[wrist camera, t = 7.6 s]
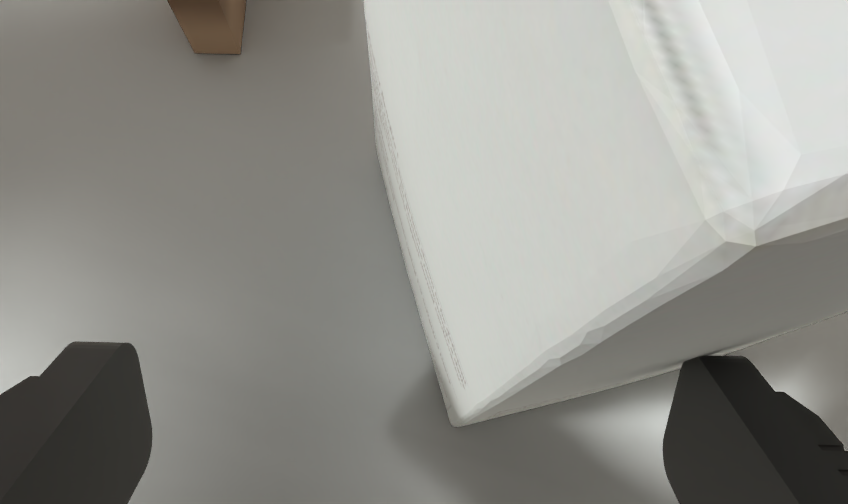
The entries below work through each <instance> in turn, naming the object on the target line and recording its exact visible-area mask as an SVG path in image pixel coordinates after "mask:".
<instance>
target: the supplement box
mask: <svg viewBox="0 0 848 504" xmlns="http://www.w3.org/2000/svg"><path fill="white" fill-rule="evenodd" d="M363 1H364V11H365V21H366V31H367V41H368V52H369V62H370V73H371V83H372V98H373V114H374V127H375V139H376V150H377V155H378V159H379V164H380V168H381V172H382V176H383V180H384V184H385V189H386V193H387V197H388V200H389V204H390V208H391V212H392V216H393V219H394V223H395V227H396V231H397V235H398V239H399V243H400V247H401V251H402V254H403V258H404V262H405V266H406V270H407V273H408V277H409V280H410V284H411V287H412V291H413V294H414V298H415V301H416V305H417V308H418V312H419V315H420V319H421V322H422V326H423V329H424V333H425V336H426V340H427V343H428V347H429V351H430V354H431V358H432V361H433V365H434V368H435V372H436V375H437V379H438V382H439V386H440V389H441V392H442V396H443V399H444V403H445V406H446V410H447V413H448V417H449V421H450V424H451V425H452V426H453V427H461V426H465V425H469V424H474V423H478V422H482V421H486V420H490V419H493V418H497V417H501V416H505V415H509V414H513V413H517V412H521V411H525V410H529V409H533V408H537V407H541V406H545V405H549V404H553V403H557V402H561V401H565V400H569V399H573V398H577V397H581V396H584V395H588V394H592V393H596V392H600V391H603V390H607V389H611V388H615V387H618V386H622V385H625V384H629V383H632V382H636V381H639V380H643V379H646V378H650V377H653V376H657V375H660V374H664V373H667V372H671V371H674V370H677V369H680V368H681V367H682V364H683V362H684V361H687V360H690V359H692V358H695V357H698V356H703V355H715V356H721V355H725V354H728V353H731V352H734V351H737V350H740V349H743V348H746V347H749V346H752V345H754V344H757V343H759V342H762V341H765V340H768V339H771V338H774V337H776V336H779V335H782V334H785V333H788V332H790V331H793V330H796V329H799V328H802V327H805V326H808V325H811V324H814V323H817V322H819V321H822V320H825V319H828V318H831V317H834V316H837V315H840V314H843V313H845V312H848V0H363Z"/></svg>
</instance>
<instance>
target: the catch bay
mask: <svg viewBox="0 0 848 504" xmlns="http://www.w3.org/2000/svg"><path fill="white" fill-rule="evenodd" d="M167 1H168V3H169V5H170V7H171V9H172V10H173V12H174V14H175V16H176V18H177V20H178V22H179V24H180V26H181V28H182V30H183V32H184V34H185V35H186V37H187V39H188V41H189V43H190V45H191V47H192V49H193V51H194V53H211V54H240V53H241V44H242V35H243V26H244V17H245V8H246V0H167Z"/></svg>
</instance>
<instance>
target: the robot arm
mask: <svg viewBox="0 0 848 504" xmlns="http://www.w3.org/2000/svg"><path fill="white" fill-rule="evenodd" d="M843 446H844V445H843V444H842V443H841V442H840V441H839V439H838V438H837V437H836V436H835V435H834V434H833V432H832V431H831V430H830V429H829V428H828V427H827V425H826V424H825V423H824V422H823V421H822V420H821V418H820V417H819V416H817V415H816V414H815V413H813V412H812V411H810V410H809V409H807V408H806V407H804V406H803V405H802V404H800V403H799V402H797V401H796V400H794V399H793V398H792V397H790V396H789V395H787V394H786V393H784V392H775V391H774V390H773V389H772V387H771V386H770V385H769V384H768V382H767V381H766V380H765V379H764V378H763V376H762V375H761V374H760V373H759V371H758V370H757V369H756V368H755V366H754V365H753V364H752V363H751V362H750V361H749V360H748V359H747V358H746V357H743V356H715V355H703V356H698V357H695V358H692V359H690V360H687V361H684V362H683V364H682V367H681V370H680V374H679V378H678V382H677V386H676V390H675V394H674V398H673V402H672V406H671V410H670V414H669V418H668V422H667V426H666V430H665V434H664V439H663V459H664V466H665V470H666V474H667V477H668V480H669V482H670V484H671V487H672V489H673V491H674V493H675V495H676V497H677V499H678V502H679V504H848V451H844V448H843ZM151 447H152V425H151V420H150V415H149V410H148V405H147V399H146V394H145V389H144V384H143V379H142V374H141V369H140V364H139V359H138V355H137V352H136V349H135V348H134V346H133V345H132V344H130V343H114V342H73V343H71V344H69V345H68V346H67V347H66V348H65V349H64V350H63V351H62V352H61V353H60V354H59V356H58V357H57V358H56V359H55V360H54V361H53V362H52V363H51V364H50V366H49V367H48V368H47V369H46V370H45V371H44V372H43V373H42V374H41V375H40V376H30V377H28V378H27V379H25V380H23V381H22V382H20V383H18V384H17V385H15V386H14V387H12V388H10V389H9V390H7V391H6V392H4V393H2V394H1V395H0V504H127V503H128V502H129V500H130V498H131V496H132V494H133V492H134V490H135V488H136V487H137V485H138V483H139V481H140V479H141V477H142V475H143V473H144V471H145V469H146V467H147V464H148V461H149V457H150V453H151Z"/></svg>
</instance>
